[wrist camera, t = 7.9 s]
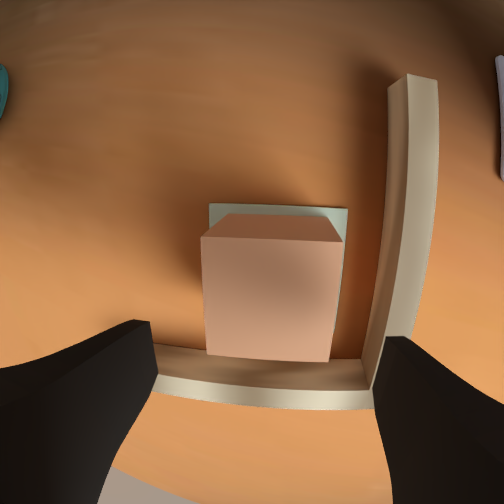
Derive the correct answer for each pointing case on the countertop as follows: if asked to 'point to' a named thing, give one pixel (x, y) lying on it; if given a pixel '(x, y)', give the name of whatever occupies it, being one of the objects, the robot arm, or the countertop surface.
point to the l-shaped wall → (385, 293)
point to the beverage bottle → (3, 88)
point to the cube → (271, 286)
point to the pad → (334, 214)
